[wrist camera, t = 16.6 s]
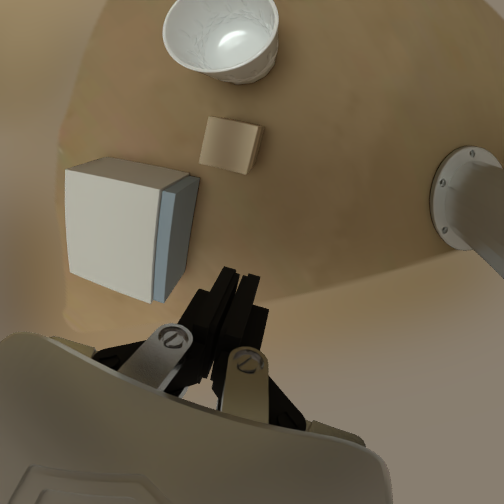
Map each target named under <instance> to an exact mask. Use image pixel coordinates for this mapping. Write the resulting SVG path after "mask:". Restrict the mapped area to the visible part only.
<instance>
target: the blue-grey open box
mask: <svg viewBox="0 0 504 504" xmlns="http://www.w3.org/2000/svg"><path fill="white" fill-rule="evenodd" d="M199 181H200V178H197V177H193V176H188V177H186V178H184V179H182V180H181V181H179V182H177V183H175V184H173V185H172V186H170V187H168V188H167V189H165V190H163V192H162V200H161V208H160V217H159V226H158V236H157V248H156V260H155V276H154V297H153V300H155V301H158V302H161V303H164V302H165V301H166V299H167V298H168V296H169V295H170V293H171V292H172V290H173V289H174V287H175V285H176V284H177V282H178V281H179V279H180V278H181V276H182V275H183V273H184V272H185V267H186V259H187V252H188V246H189V239H190V232H191V226H192V220H193V214H194V208H195V202H196V197H197V191H198V186H199Z"/></svg>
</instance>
